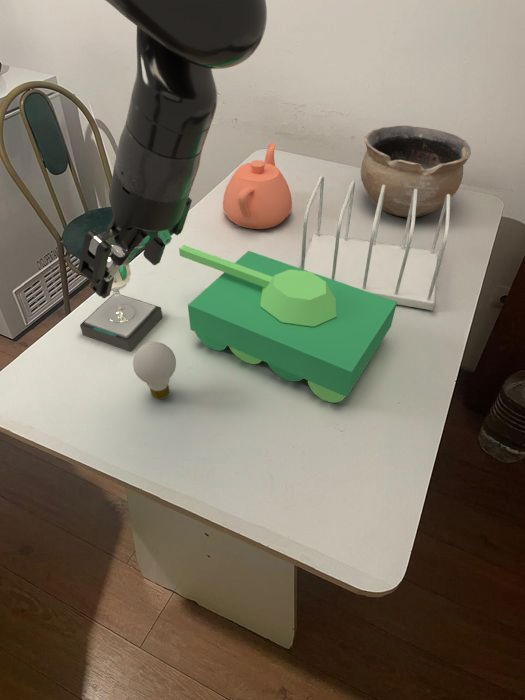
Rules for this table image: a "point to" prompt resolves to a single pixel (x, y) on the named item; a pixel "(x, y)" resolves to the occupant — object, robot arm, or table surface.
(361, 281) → the file sorter
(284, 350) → the toy tank
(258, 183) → the teapot
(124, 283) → the wineglass
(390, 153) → the ceramic bowl
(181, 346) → the table surface
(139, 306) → the kitchen scale
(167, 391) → the light bulb
